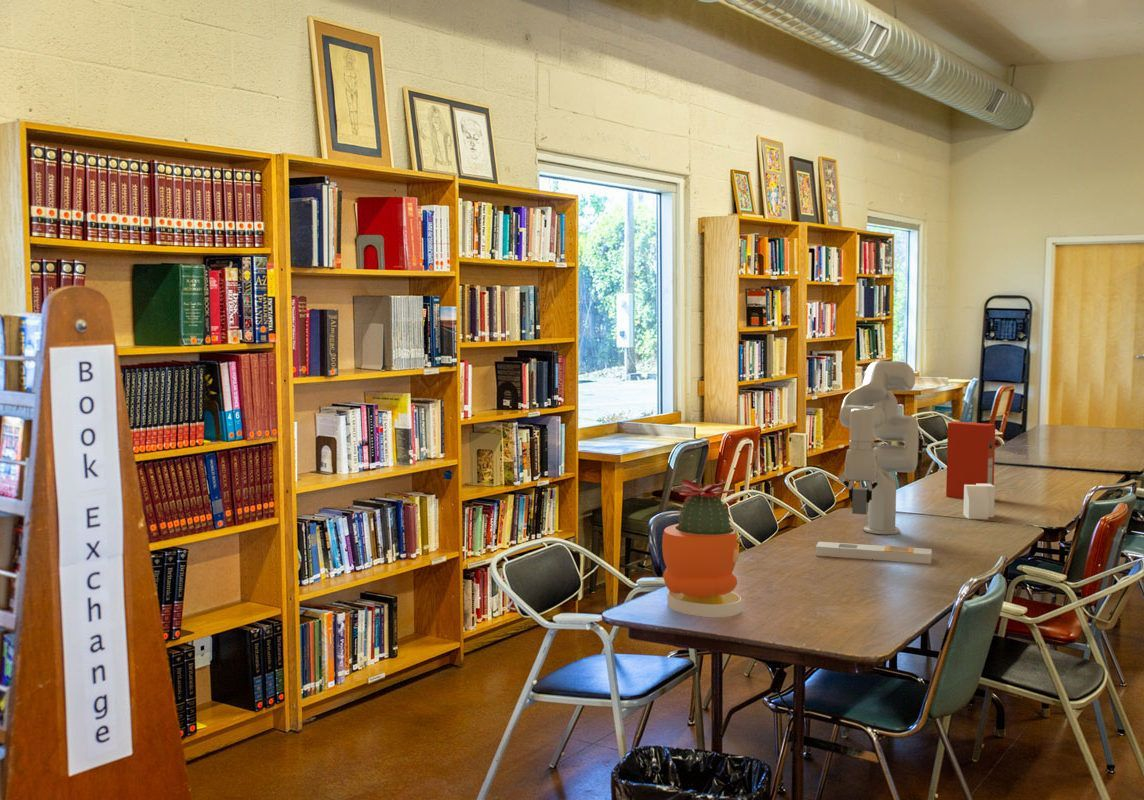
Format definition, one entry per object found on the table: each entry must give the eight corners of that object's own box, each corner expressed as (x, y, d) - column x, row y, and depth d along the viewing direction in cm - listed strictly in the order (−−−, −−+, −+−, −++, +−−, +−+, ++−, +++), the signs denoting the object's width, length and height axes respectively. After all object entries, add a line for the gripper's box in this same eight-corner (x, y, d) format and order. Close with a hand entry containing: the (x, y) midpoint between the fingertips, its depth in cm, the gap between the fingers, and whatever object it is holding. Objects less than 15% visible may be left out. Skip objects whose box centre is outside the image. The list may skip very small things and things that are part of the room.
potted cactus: (690, 594, 309) (691, 472, 306) (756, 608, 294) (758, 480, 291) (641, 609, 294) (642, 480, 291) (708, 625, 278) (709, 490, 275)
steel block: (853, 511, 358) (854, 487, 357) (867, 512, 356) (867, 487, 356) (852, 513, 354) (852, 489, 353) (866, 514, 352) (866, 490, 352)
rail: (818, 550, 364) (818, 540, 364) (931, 558, 353) (931, 548, 352) (815, 555, 357) (815, 545, 357) (931, 563, 345) (931, 553, 345)
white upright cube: (989, 513, 428) (990, 483, 427) (997, 519, 417) (998, 488, 416) (961, 513, 430) (962, 483, 429) (968, 518, 418) (969, 487, 417)
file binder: (985, 501, 455) (987, 425, 452) (945, 496, 467) (947, 422, 464) (993, 499, 461) (995, 424, 458) (953, 494, 473) (955, 421, 470)
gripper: (889, 445, 354) (888, 501, 355) (836, 443, 360) (835, 498, 361) (887, 448, 347) (886, 505, 348) (833, 446, 353) (832, 502, 354)
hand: (860, 501), depth 355 cm, fingers closed on steel block, 4 cm apart
